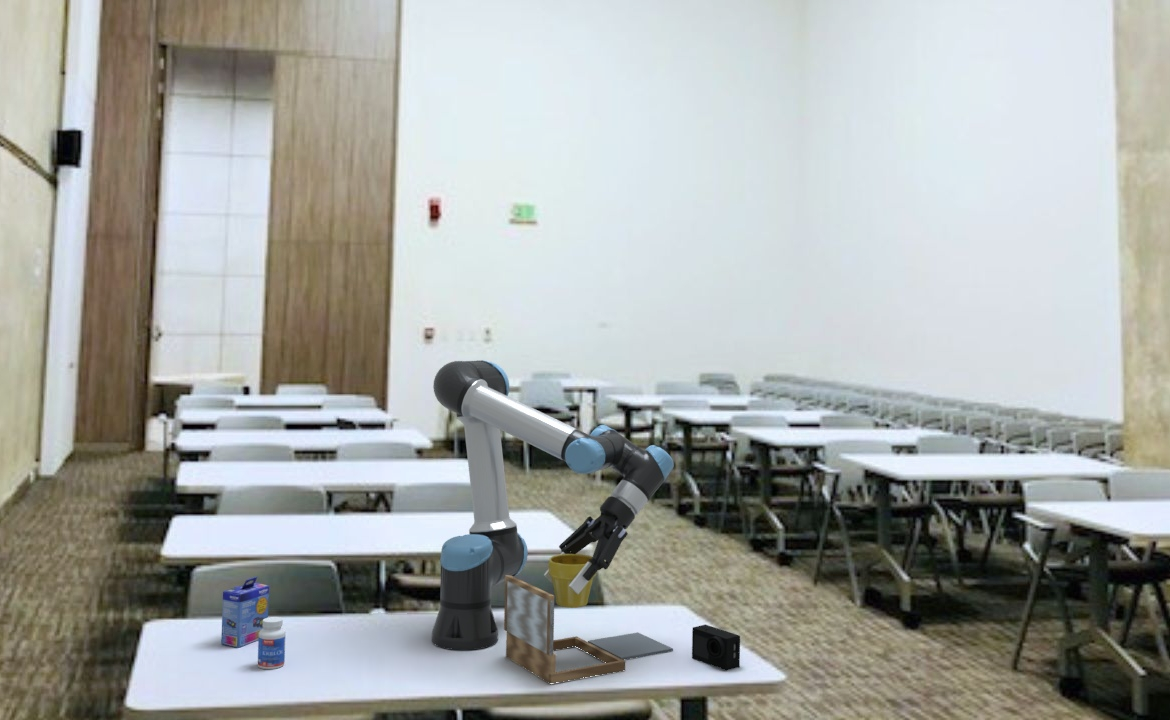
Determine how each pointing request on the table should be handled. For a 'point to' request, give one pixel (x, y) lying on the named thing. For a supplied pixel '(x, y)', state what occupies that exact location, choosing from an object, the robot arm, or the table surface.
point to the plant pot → (569, 579)
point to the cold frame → (544, 635)
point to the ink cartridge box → (244, 613)
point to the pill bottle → (271, 644)
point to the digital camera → (716, 647)
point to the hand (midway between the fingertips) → (560, 584)
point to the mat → (630, 646)
